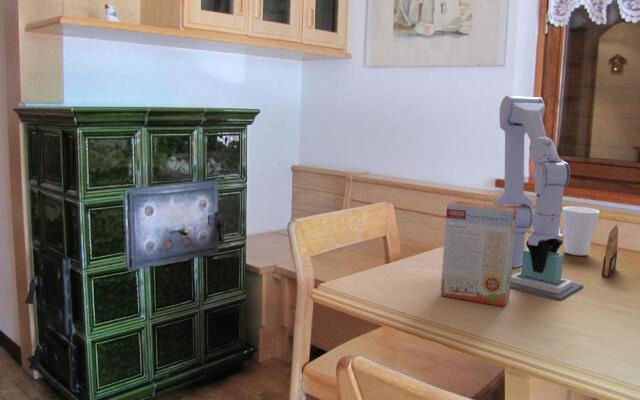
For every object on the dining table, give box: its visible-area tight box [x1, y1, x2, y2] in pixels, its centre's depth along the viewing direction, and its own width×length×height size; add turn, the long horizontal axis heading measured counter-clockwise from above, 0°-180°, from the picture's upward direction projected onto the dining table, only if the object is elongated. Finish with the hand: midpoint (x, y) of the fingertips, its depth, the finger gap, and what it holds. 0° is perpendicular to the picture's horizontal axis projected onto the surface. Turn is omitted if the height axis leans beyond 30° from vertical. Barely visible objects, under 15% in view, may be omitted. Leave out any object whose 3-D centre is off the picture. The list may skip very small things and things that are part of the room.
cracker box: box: [440, 200, 517, 307], centre depth 134 cm, size 14×6×21 cm, turn 64°
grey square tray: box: [510, 271, 584, 302], centre depth 147 cm, size 15×14×2 cm
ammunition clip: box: [601, 224, 619, 279], centre depth 160 cm, size 11×2×12 cm, turn 148°
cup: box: [561, 205, 600, 256], centre depth 178 cm, size 10×10×13 cm
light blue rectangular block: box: [520, 248, 565, 282], centre depth 146 cm, size 4×8×6 cm, turn 48°
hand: (541, 270), depth 146 cm, fingers closed on light blue rectangular block, 4 cm apart
